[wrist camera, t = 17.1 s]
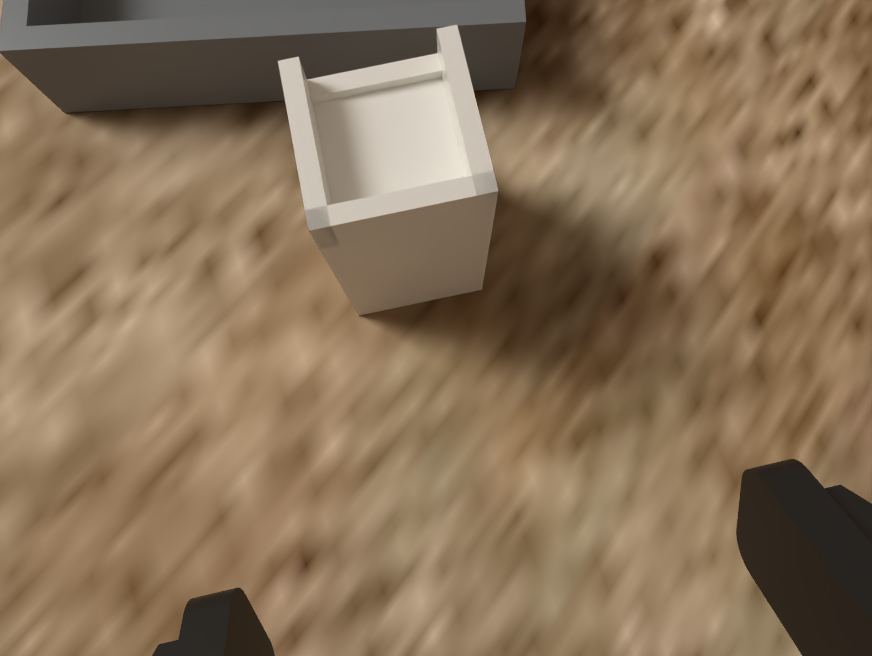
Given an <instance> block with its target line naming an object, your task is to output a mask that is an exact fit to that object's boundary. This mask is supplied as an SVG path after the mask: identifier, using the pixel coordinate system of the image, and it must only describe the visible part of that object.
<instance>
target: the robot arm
mask: <svg viewBox="0 0 872 656" xmlns="http://www.w3.org/2000/svg"><path fill="white" fill-rule="evenodd" d="M736 535H737V542H738V547H739V550H740V553H741V556H742V559H743V561H744V563H745V565H746V567H747V569H748V571H749V573H750V574H751V576H752V577H753V579H754V581H755V582H756V584H757V585H758V587H759V588H760V590H761V592H762V593H763V595H764V596H765V598H766V599H767V601H768V603H769V604H770V606H771V607H772V609H773V610H774V612H775V613H776V615H777V617H778V618H779V620H780V621H781V623H782V624H783V626H784V628H785V629H786V631H787V632H788V634H789V635H790V637H791V638H792V640H793V642H794V643H795V645H796V646H797V648H798V649H799V651H800V653H801V654H802V656H872V504H871V503H870V502H868V501H866V500H865V499H863V498H861V497H860V496H858V495H856V494H855V493H853V492H852V491H850V490H848V489H847V488H845V487H843V486H842V485H837V486H833V487H829V488H825V489H824V487H823V486H822V485H821V484H820V483H819V482H818V480H817V479H816V478H815V477H814V476H813V475H812V473H811V472H810V471H809V470H808V469H807V468H806V467H805V466H804V465H803V464H802V463H801V462H799V461H798V460H795V459H789V460H785V461H781V462H776V463H772V464H768V465H764V466H759V467H755V468H751V469H747V470H745V471H744V472H743V475H742V481H741V491H740V501H739V511H738V520H737V531H736ZM152 656H275V655H274V651H273V647H272V644H271V642H270V639H269V638H268V636H267V634H266V632H265V630H264V628H263V626H262V624H261V623H260V621H259V619H258V617H257V615H256V613H255V611H254V610H253V608H252V606H251V604H250V602H249V600H248V598H247V596H246V595H245V593H244V591H243V590H242V589H241V588H234V589H230V590H226V591H222V592H217V593H213V594H209V595H205V596H200V597H196V598H192V599H190V600H189V601H188V603H187V605H186V607H185V610H184V614H183V619H182V625H181V630H180V635H179V640H176V641H172V642H167V643H163V644H159V645H158V647H157V648H156V650H155V652H154V653H153V655H152Z"/></svg>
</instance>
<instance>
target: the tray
mask: <svg viewBox="0 0 872 656" xmlns="http://www.w3.org/2000/svg"><path fill="white" fill-rule="evenodd" d="M453 25H457V26H458V30H459V34H460V38H461V42H462V46H463V50H464V54H465V58H466V62H467V66H468V70H469V74H470V78H471V82H472V86H473V90H474V91H476V90H494V89H513V88H515V87H516V81H517V75H518V69H519V63H520V57H521V51H522V45H523V38H524V32H525V26H526V13H525V1H524V0H3V7H2V17H1V27H0V53H1V54H2V55H3V56H4V57H5V58H6V59H7V60H8V61H9V62H10V63H11V64H13V65H14V66H15V67H16V68H17V69H18V70H19V71H20V72H21V73H22V74H23V75H24V76H25V77H26V78H28V79H29V80H30V81H31V82H32V83H33V84H34V85H35V86H36V87H37V88H38V89H39V90H40V91H41V92H43V93H44V94H45V95H46V96H47V97H48V98H49V99H50V100H51V101H52V102H53V103H54V104H55V105H56V106H58V107H59V108H60V109H61V110H62V111H63V112H64V113H69V112H88V111H106V110H125V109H143V108H161V107H180V106H198V105H217V104H235V103H254V102H272V101H285V98H284V92H283V87H282V81H281V76H280V70H279V65H278V61H280V60H284V59H289V58H294V57H299V59H300V62H301V65H302V67H303V70H304V73H305V76H306V78H307V80H308V79H313V78H318V77H323V76H328V75H332V74H337V73H342V72H347V71H352V70H357V69H362V68H367V67H372V66H377V65H382V64H387V63H392V62H396V61H401V60H406V59H411V58H416V57H421V56H426V55H431V54H436V53H437V29H438V28H443V27H448V26H453Z"/></svg>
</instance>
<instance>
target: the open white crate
mask: <svg viewBox="0 0 872 656" xmlns="http://www.w3.org/2000/svg"><path fill="white" fill-rule="evenodd" d="M278 65H279V70H280V76H281V81H282V87H283V92H284V98H285V103H286V109H287V114H288V120H289V125H290V131H291V136H292V141H293V147H294V152H295V158H296V163H297V169H298V174H299V180H300V185H301V191H302V196H303V202H304V207H305V213H306V218H307V224H308V229H309V232H310V234H311V235H312V237H313V239H314V240H315V242H316V244H317V246H318V247H319V249H320V251H321V252H322V254H323V256H324V258H325V259H326V261H327V263H328V264H329V266H330V268H331V270H332V271H333V273H334V275H335V276H336V278H337V280H338V281H339V283H340V285H341V287H342V288H343V290H344V292H345V293H346V295H347V297H348V299H349V300H350V302H351V304H352V305H353V307H354V309H355V311H356V312H357V314H358V316H360V315H364V314H369V313H374V312H379V311H383V310H388V309H393V308H398V307H402V306H407V305H412V304H416V303H421V302H426V301H431V300H435V299H440V298H445V297H449V296H454V295H459V294H464V293H468V292H473V291H478V290H482V287H483V281H484V275H485V269H486V263H487V257H488V251H489V245H490V239H491V233H492V227H493V221H494V215H495V209H496V203H497V197H498V187H497V183H496V179H495V175H494V171H493V167H492V163H491V159H490V155H489V151H488V147H487V143H486V139H485V135H484V131H483V127H482V123H481V119H480V115H479V111H478V107H477V103H476V99H475V94H474V90H473V86H472V82H471V78H470V74H469V70H468V66H467V62H466V58H465V54H464V50H463V46H462V42H461V38H460V34H459V30H458V26H457V25H453V26H448V27H443V28H438V29H437V53H436V54H431V55H426V56H421V57H416V58H411V59H406V60H401V61H396V62H392V63H387V64H382V65H377V66H372V67H367V68H362V69H357V70H352V71H347V72H342V73H337V74H332V75H328V76H323V77H318V78H313V79H308V80H307V78H306V76H305V73H304V70H303V67H302V65H301V62H300V59H299V57H294V58H289V59H284V60H280V61H278Z"/></svg>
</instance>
